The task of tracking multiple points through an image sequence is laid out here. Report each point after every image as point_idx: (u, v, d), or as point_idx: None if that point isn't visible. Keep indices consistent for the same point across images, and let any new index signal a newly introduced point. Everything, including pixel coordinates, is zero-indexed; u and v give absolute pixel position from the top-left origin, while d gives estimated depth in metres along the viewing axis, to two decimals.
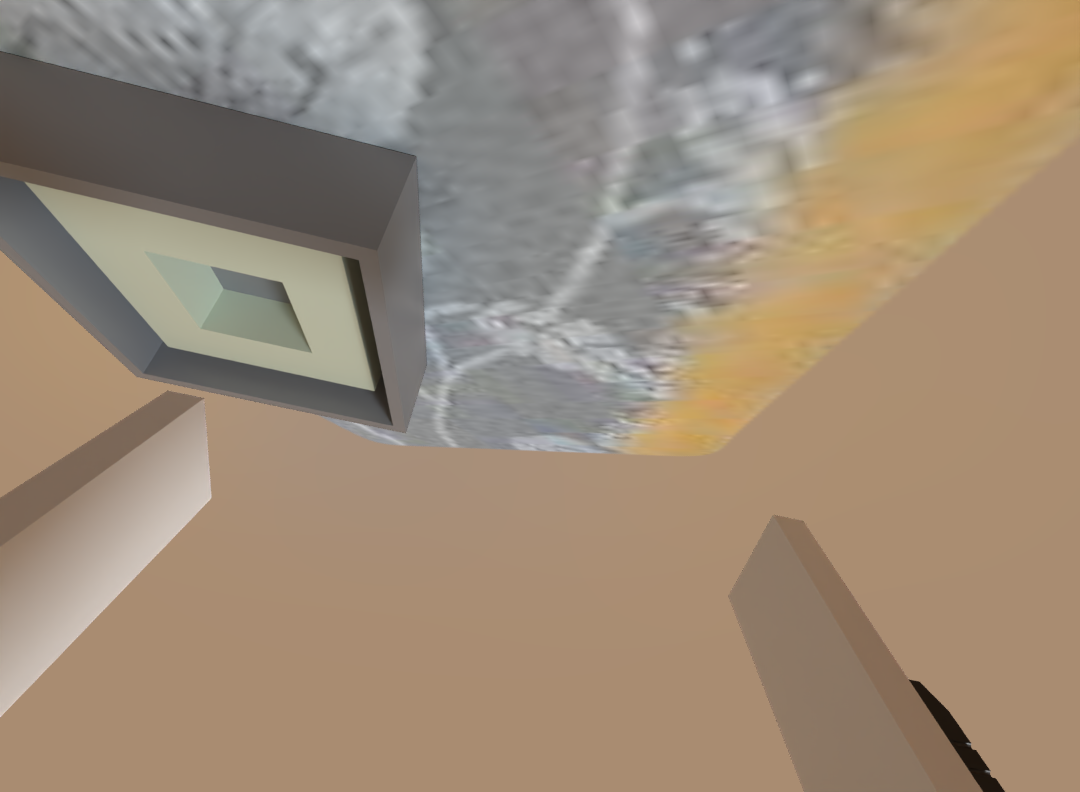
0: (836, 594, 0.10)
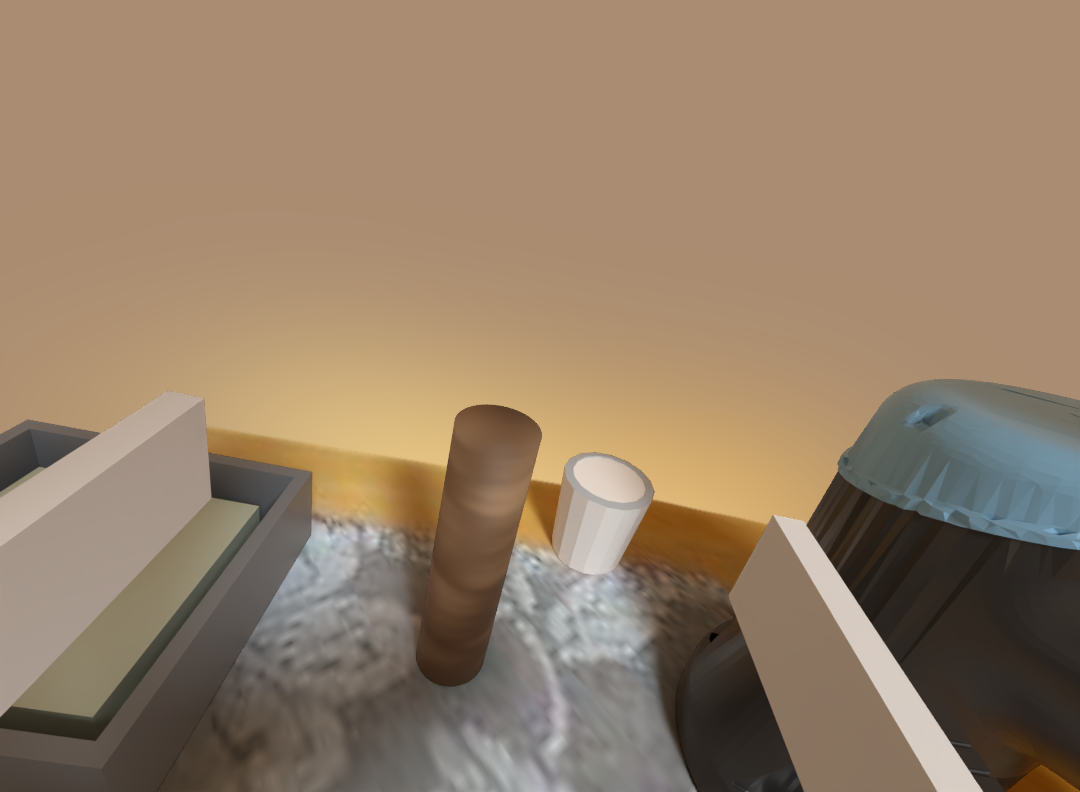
0: (836, 594, 0.10)
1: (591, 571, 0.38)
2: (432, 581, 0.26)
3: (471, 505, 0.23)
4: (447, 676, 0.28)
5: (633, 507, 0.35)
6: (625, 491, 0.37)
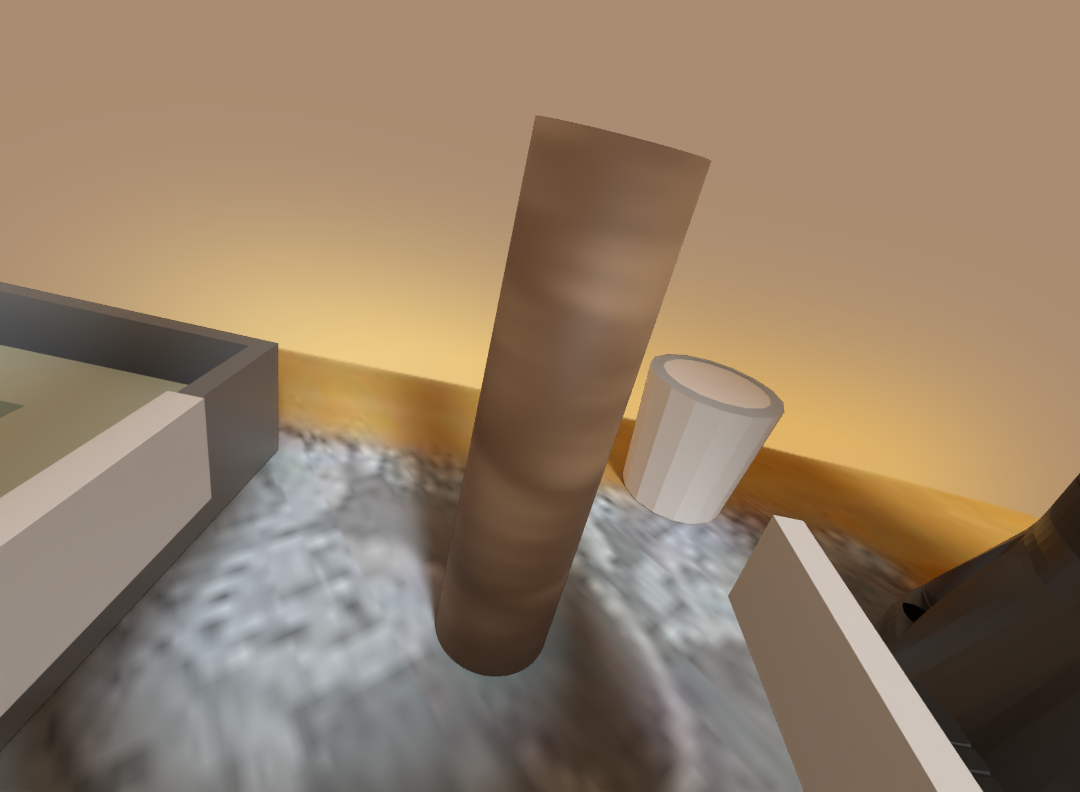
0: (836, 594, 0.10)
1: (686, 518, 0.26)
2: (472, 479, 0.14)
3: (568, 288, 0.11)
4: (490, 658, 0.16)
5: (762, 415, 0.23)
6: (743, 397, 0.25)
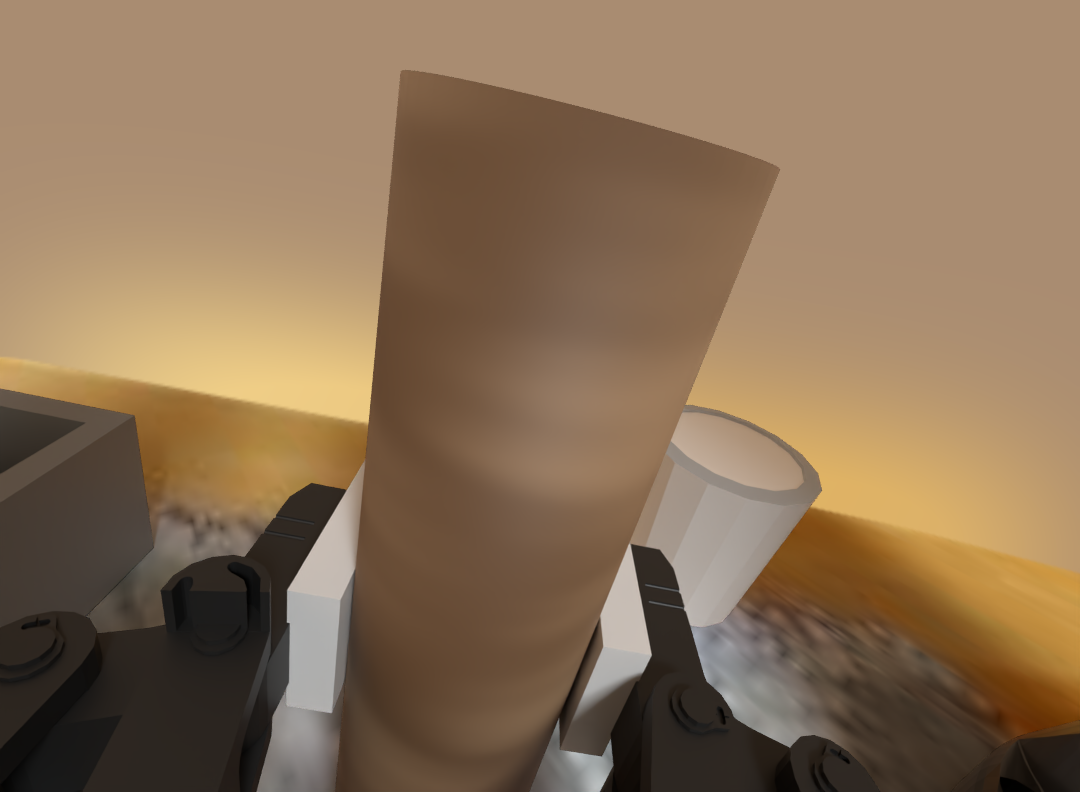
0: None
1: (693, 621, 0.20)
2: (348, 708, 0.08)
3: (474, 448, 0.05)
4: None
5: (796, 500, 0.18)
6: (768, 470, 0.19)
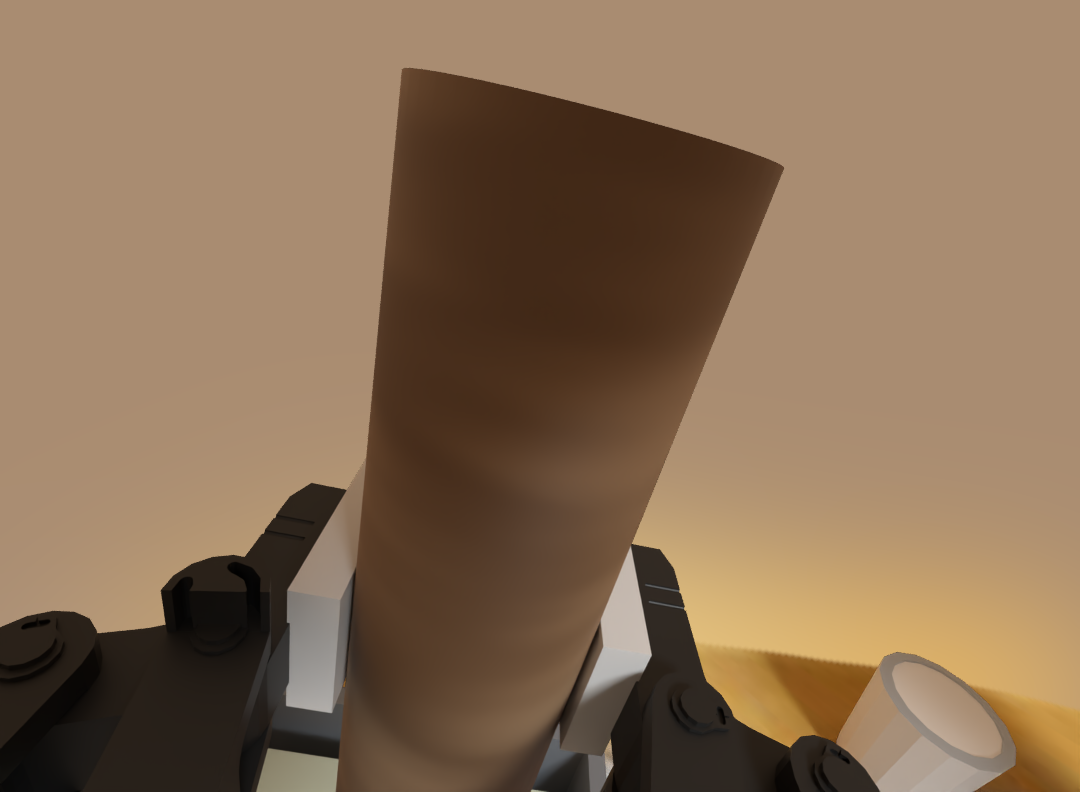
0: None
1: None
2: (348, 709, 0.08)
3: (476, 448, 0.05)
4: None
5: (1006, 764, 0.27)
6: (976, 730, 0.28)
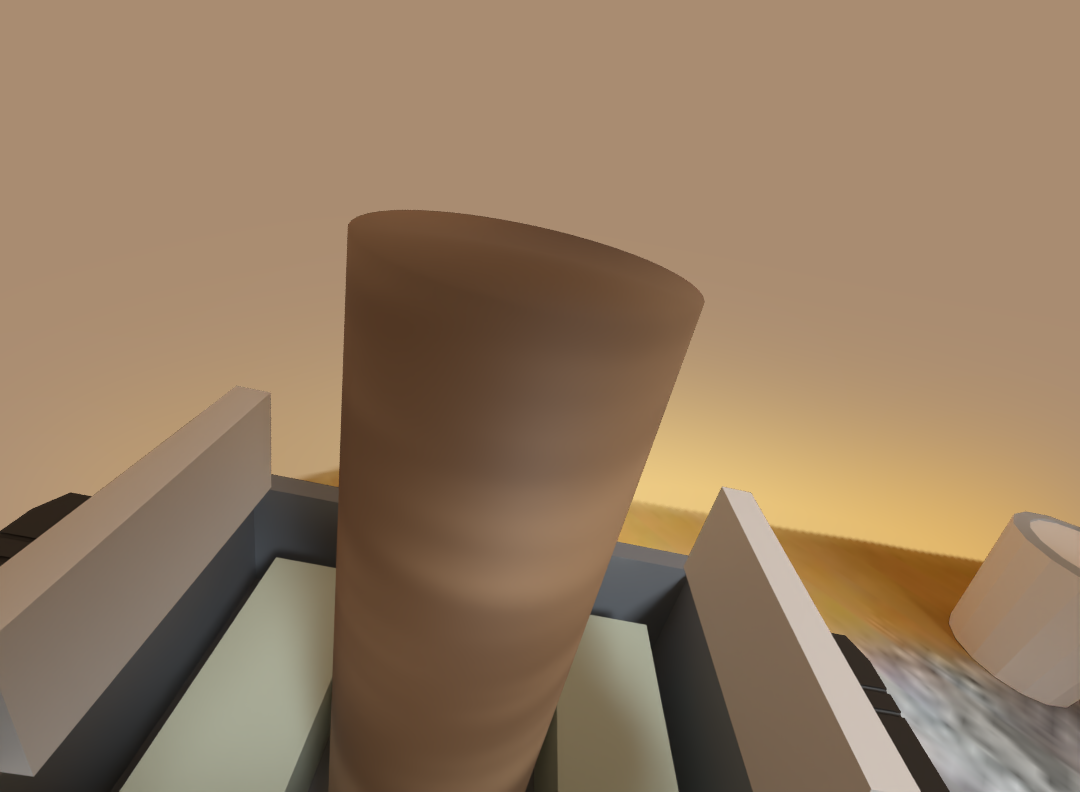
0: (771, 556, 0.10)
1: (1062, 703, 0.24)
2: (332, 766, 0.09)
3: (425, 566, 0.06)
4: None
5: None
6: None
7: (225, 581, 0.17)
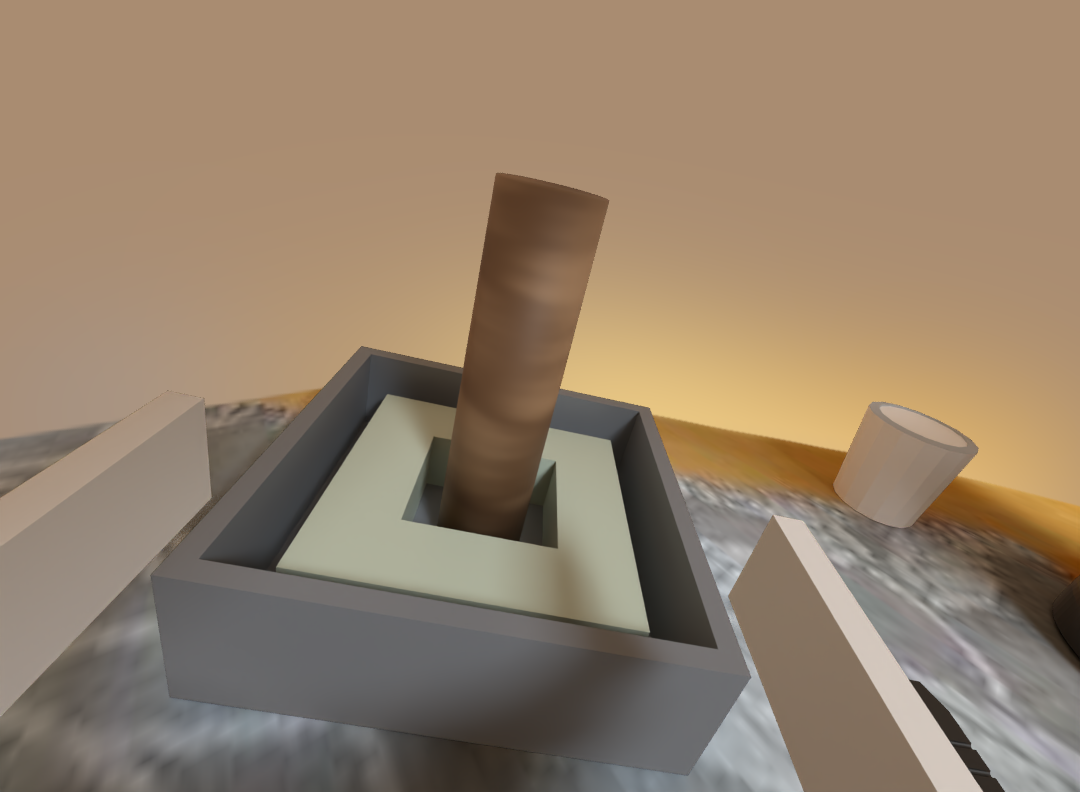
0: (836, 594, 0.10)
1: (898, 524, 0.36)
2: (460, 418, 0.21)
3: (518, 284, 0.17)
4: None
5: (970, 451, 0.33)
6: (946, 437, 0.35)
7: (356, 408, 0.29)
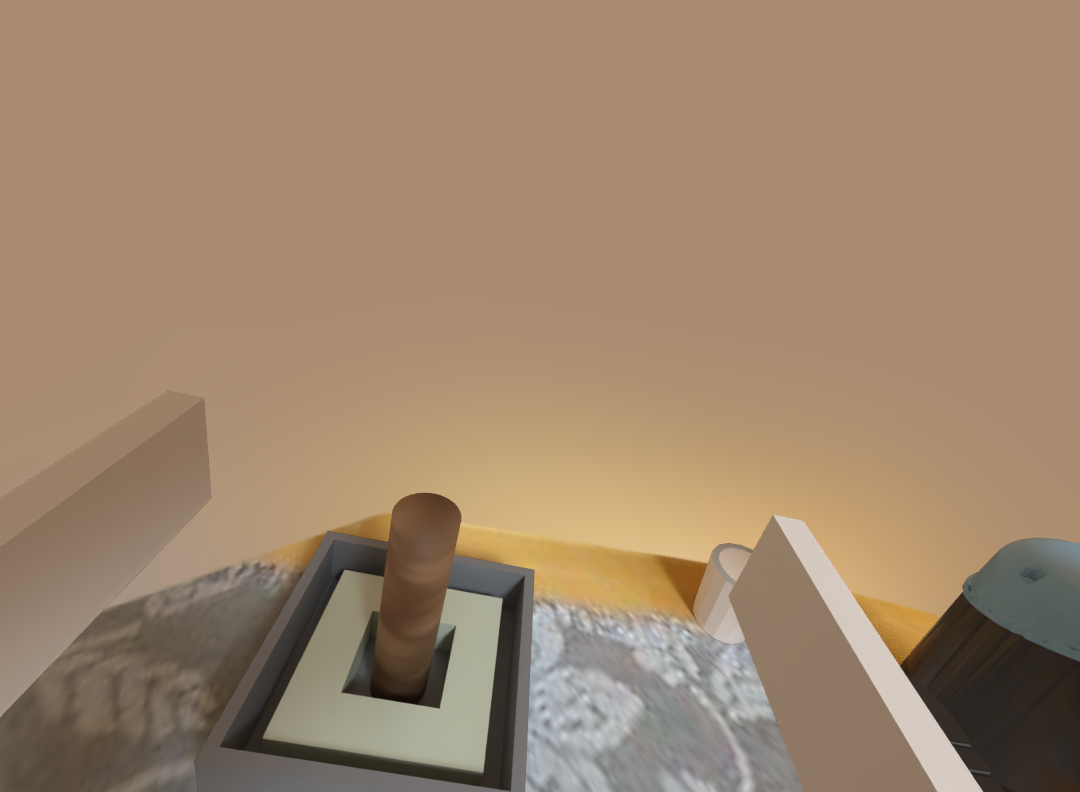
0: (836, 594, 0.10)
1: (731, 641, 0.48)
2: (379, 629, 0.33)
3: (404, 575, 0.30)
4: None
5: None
6: None
7: (323, 579, 0.41)
